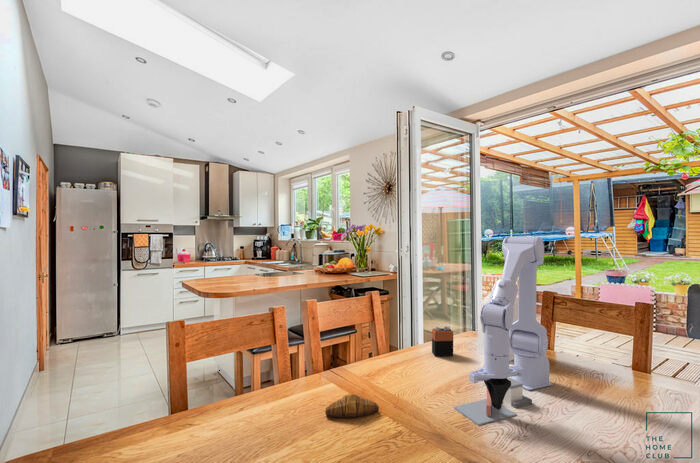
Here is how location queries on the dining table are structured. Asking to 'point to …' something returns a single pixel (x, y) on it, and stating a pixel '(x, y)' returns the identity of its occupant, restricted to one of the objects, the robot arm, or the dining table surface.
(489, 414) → the pink flat bar
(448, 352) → the battery
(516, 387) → the plug
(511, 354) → the milk
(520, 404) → the bracket
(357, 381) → the dining table surface
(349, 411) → the croissant
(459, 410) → the slate mat
